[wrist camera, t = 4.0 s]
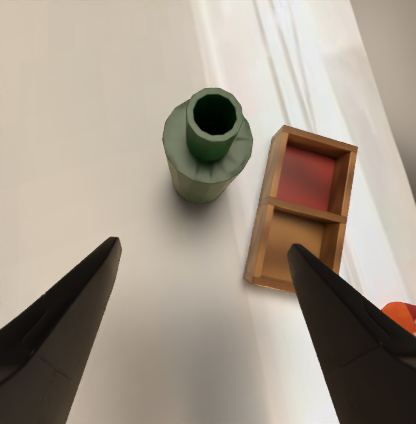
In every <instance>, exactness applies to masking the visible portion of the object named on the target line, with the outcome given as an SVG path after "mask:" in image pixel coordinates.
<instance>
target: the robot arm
mask: <svg viewBox="0 0 416 424" xmlns="http://www.w3.org/2000/svg"><path fill="white" fill-rule="evenodd" d="M121 252H122V247H121V244H120V240H119V238H118V237H109V238H108V239H106V240H105V241H104V242H103V243H102V244H101V245H100V246H98V247H97V248H96V249H95V250H94V251H93V252H92V253H90V254H89V255H88V256H87V257H86V258H85V259H83V260H82V261H81V262H80V263H79V264H78V265H77V266H75V267H74V268H73V269H72V270H71V271H70V272H69V273H67V274H66V275H65V276H64V277H63V278H62V279H61V280H59V281H58V282H57V283H56V284H55V285H54V286H52V287H51V288H50V289H49V290H48V291H47V292H46V293H45V294H43V295H42V296H41V297H40V298H39V299H37V300H36V301H35V302H34V303H33V304H32V305H30V306H29V307H28V308H27V309H26V310H24V311H23V312H22V313H21V314H20V315H18V316H17V317H16V318H14V319H13V320H12V321H11V322H9V323H8V324H7V325H5V326H4V327H3V328H1V329H0V424H66V421H67V418H68V415H69V412H70V409H71V406H72V404H73V401H74V398H75V395H76V392H77V389H78V386H79V383H80V380H81V378H82V375H83V372H84V369H85V366H86V363H87V360H88V358H89V355H90V352H91V349H92V346H93V343H94V340H95V337H96V335H97V332H98V329H99V326H100V323H101V320H102V317H103V315H104V312H105V309H106V306H107V303H108V300H109V297H110V295H111V292H112V289H113V286H114V283H115V279H116V275H117V271H118V266H119V261H120V257H121ZM287 260H288V265H289V269H290V274H291V278H292V282H293V286H294V289H295V292H296V295H297V298H298V301H299V304H300V307H301V310H302V313H303V316H304V319H305V321H306V324H307V327H308V330H309V333H310V336H311V339H312V342H313V345H314V348H315V351H316V354H317V357H318V360H319V363H320V366H321V369H322V372H323V375H324V378H325V381H326V384H327V387H328V390H329V393H330V396H331V399H332V402H333V405H334V408H335V411H336V414H337V417H338V420H339V423H340V424H416V337H415V336H414V335H412V334H411V333H410V332H408V331H407V330H406V329H404V328H403V327H402V326H400V325H399V324H398V323H396V322H395V321H394V320H392V319H391V318H390V317H389V316H387V315H386V314H385V313H383V312H382V311H381V310H380V309H378V308H377V307H376V306H375V305H373V304H372V303H371V302H370V301H369V300H367V299H366V298H365V297H364V296H362V295H361V294H360V293H359V292H358V291H357V290H355V289H354V288H353V287H352V286H351V285H349V284H348V283H347V282H346V281H345V280H344V279H342V278H341V277H340V276H339V275H338V274H336V273H335V272H334V271H333V270H332V269H330V268H329V267H328V266H327V265H326V264H324V263H323V262H322V261H321V260H320V259H319V258H317V257H316V256H315V255H314V254H313V253H311V252H310V251H309V250H308V249H307V248H305V247H304V246H303V245H302V244H299V243H293V244H292V245H291V247H290V249H289V250H288V252H287Z"/></svg>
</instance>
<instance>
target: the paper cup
mask: <svg viewBox="0 0 416 424" xmlns="http://www.w3.org/2000/svg"><path fill="white" fill-rule="evenodd" d="M382 312H383V313H385V314H386V315H387V316H389V317H390V318H391V319H392V320H394V321H395V322H396V323H398V324H399V325H400V326H402V327H403V328H404V329H406V330H407V331H408V332H410V333H411V334H412V335H414V336H415V337H416V306H415V305H411V304H407V303H402V302H392V303H389V304H388V305H386V306H385V307H384V308H383V309H382Z"/></svg>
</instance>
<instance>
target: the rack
mask: <svg viewBox="0 0 416 424" xmlns="http://www.w3.org/2000/svg"><path fill="white" fill-rule="evenodd" d="M357 149H358V147H357V146H353V145H350V144H347V143H343V142H340V141H337V140H333V139H330V138H326V137H323V136H320V135H316V134H313V133H310V132H306V131H303V130H300V129H296V128H293V127H290V126H286V125H283V126H282V127H281V128H280V129H279V131H278V132H277V133H276V134H275V135H274V136H273V137H272V142H271V147H270V152H269V157H268V161H267V166H266V171H265V176H264V181H263V185H262V190H261V195H260V200H259V205H258V210H257V214H256V219H255V224H254V229H253V234H252V239H251V243H250V248H249V253H248V258H247V263H246V267H245V272H244V278H245V279H247V280H248V281H249V282H250V283H252V284H255V285H260V286H264V287H269V288H273V289H278V290H282V291H287V292H291V293H296V292H295V289H294V286H293V282H292V278H291V274H290V269H289V265H288V260H287V252H288V250H289V249H290V247H291V245H292V244H293V243H299V244H302V245H303V246H304V247H305V248H307V249H308V250H309V251H310V252H311V253H313V254H314V255H315V256H316V257H317V258H319V259H320V260H321V261H322V262H323V263H324V264H326V265H327V266H328V267H329V268H330V269H332V270H333V271H334V272H335V273H336V274H338V275H339V269H340V262H341V256H342V249H343V242H344V235H345V229H346V223H347V216H348V209H349V202H350V196H351V189H352V182H353V176H354V169H355V162H356V155H357Z"/></svg>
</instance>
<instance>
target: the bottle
mask: <svg viewBox="0 0 416 424" xmlns="http://www.w3.org/2000/svg"><path fill="white" fill-rule="evenodd" d="M162 140H163V144H164V148H165V153H166V157H167V161H168V165H169V169H170V172H171V176H172V180H173V184H174V187H175V189H176V190H177V192H178V193H179V194H180V195H181V196H182V197H183V198H184V199H186V200H188V201H190V202H193V203H206V202H209V201H212V200H213V199H215V198H216V197H217V196H219V195H220V194H221V193H222V192H223V191H224V190H225V189H226V187H227V186H228V185H229V184H230V183H231V182H232V181H233V180H234V179H235V178H236V177H237V176H238V174H239V173H240V172H241V171H242V170H243V169H244V167H245V165H246V164H247V162H248V160H249V158H250V157H251V152H252V144H253V137H252V134H251V130H250V126H249V123H248V122H247V120H246V119H245V118H244V116H243V114H242V107H241V105H240V104H239V102H238V101H237V100H236V98H235V97H234V96H233V95H232V94H231V93H229V92H227V91H225V90H223V89H221V88H205V89H202V90H201V91H199V92H198V93H196V94H194V95H193V96H192V97H191V99H189V100H187V101H186V102H184V103H182V104H181V105H179V106H177V107H176V108H175V109H174V110H173V112H172V113H171V115H170V116H169V118H168V119H167V120H166V122H165V127H164V132H163V138H162Z"/></svg>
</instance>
